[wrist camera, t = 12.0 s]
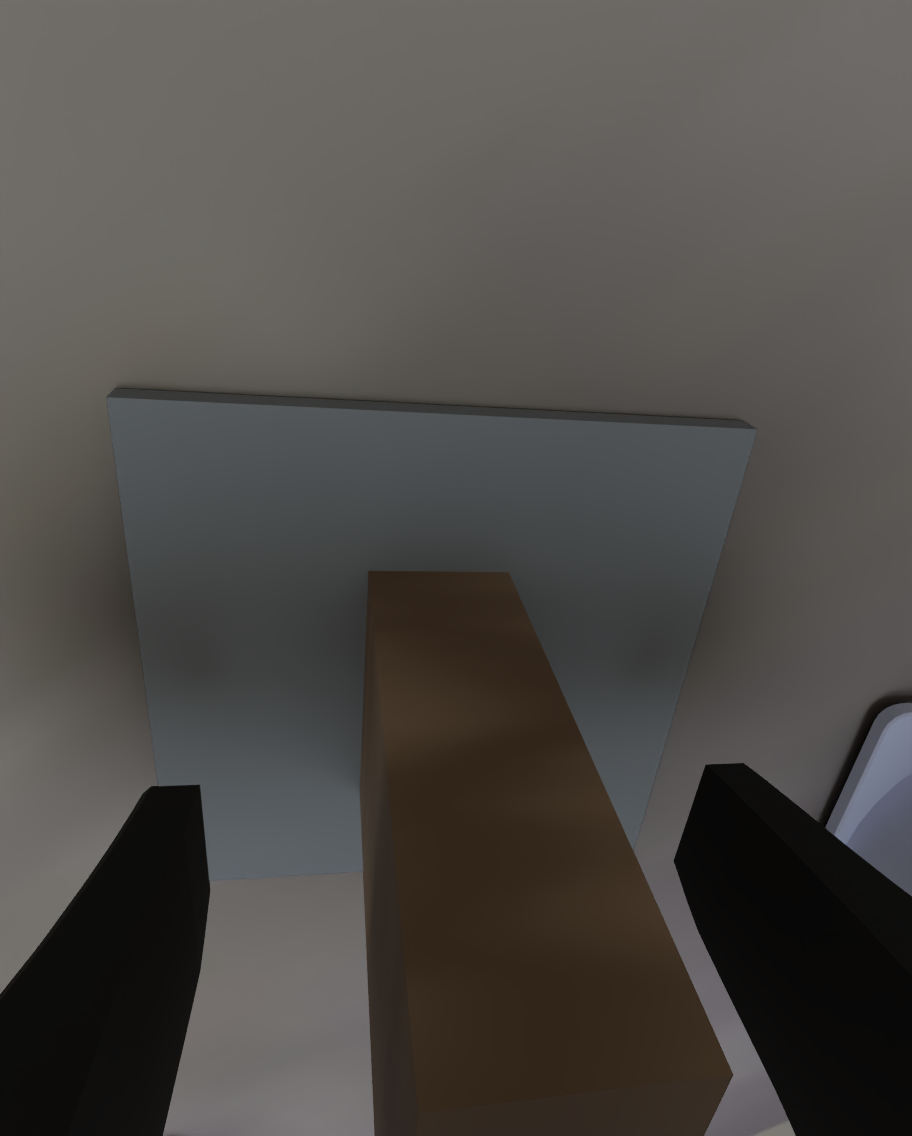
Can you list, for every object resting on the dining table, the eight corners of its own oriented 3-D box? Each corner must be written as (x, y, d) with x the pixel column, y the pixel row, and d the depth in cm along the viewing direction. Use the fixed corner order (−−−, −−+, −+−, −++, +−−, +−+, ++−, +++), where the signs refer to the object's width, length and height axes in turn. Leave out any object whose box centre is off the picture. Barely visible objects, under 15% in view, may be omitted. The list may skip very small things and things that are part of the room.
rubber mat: (742, 420, 12) (757, 429, 12) (625, 837, 17) (632, 854, 16) (115, 388, 11) (106, 397, 10) (175, 863, 15) (171, 883, 15)
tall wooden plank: (508, 572, 12) (733, 1074, 5) (478, 787, 15) (608, 1333, 8) (368, 571, 12) (417, 1112, 5) (359, 792, 14) (385, 1375, 7)
